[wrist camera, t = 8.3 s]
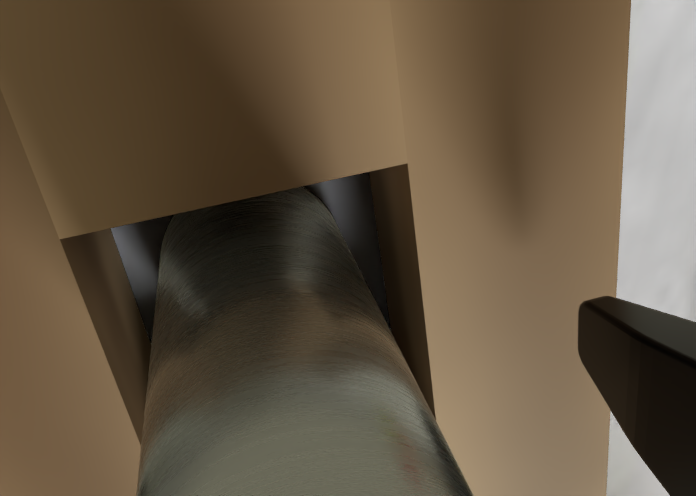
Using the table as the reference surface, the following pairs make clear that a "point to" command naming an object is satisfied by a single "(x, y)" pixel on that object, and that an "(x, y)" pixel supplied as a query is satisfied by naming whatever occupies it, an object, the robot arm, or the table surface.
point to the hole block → (309, 168)
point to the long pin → (279, 366)
